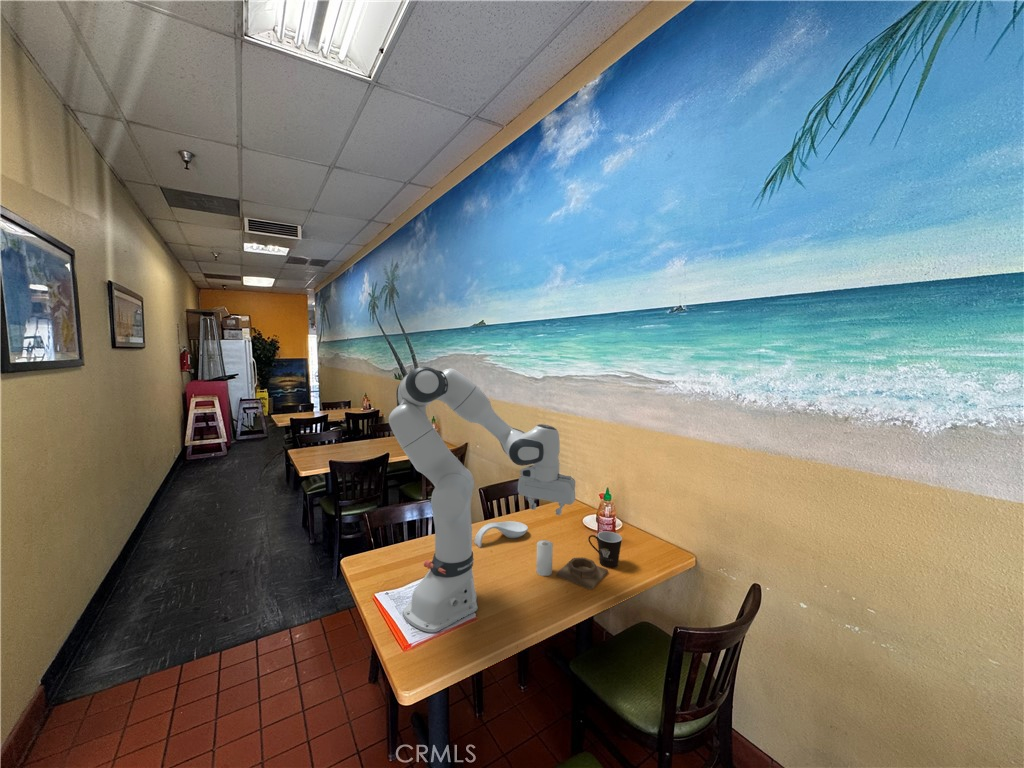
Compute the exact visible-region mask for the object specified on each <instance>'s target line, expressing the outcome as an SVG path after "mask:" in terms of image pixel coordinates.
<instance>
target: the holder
mask: <svg viewBox="0 0 1024 768" xmlns="http://www.w3.org/2000/svg"><path fill="white" fill-rule="evenodd" d="M608 571H609V569H608V568H605V567H603V566H602V567H601V566H598V565H597V564H596V562H595V561H594V560H593V559H589V558H586V557H583V556H581V557H572V558H571V559H570V560H569V561H568V562H567V564H565V565H563V567H562V568H560V569H559V570H558V571H557V572H556V575H555V576H556V577H558V578H561V579H563V580H565V581H567V582H570V583H573V584H576V585H578V586H581V587H583V588H586V589H587V590H590V591H593V589H594V588H595V587H596V586H597V585H598V584H599V583H600V581H602V579H603V578H604V577H605V576H606V575H607V574H608V573H609V572H608Z"/></svg>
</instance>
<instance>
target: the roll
mask: <svg viewBox="0 0 1024 768" xmlns="http://www.w3.org/2000/svg"><path fill="white" fill-rule="evenodd" d="M553 547H554V545H553V542H552V541H550V540H547V539H546V540H545V539H544V540H543V539H541V540H539V541H537V543H536V573H537V575H539V576H541V577H548V576H551V575H552V574H553V554H554V553H553V551H554V549H553Z"/></svg>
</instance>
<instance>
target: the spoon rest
mask: <svg viewBox="0 0 1024 768" xmlns="http://www.w3.org/2000/svg"><path fill="white" fill-rule="evenodd" d="M491 529H496V530H498V531H499V532H500V533H501V534H503V535H504V536H505V537H506V538H508V539H518V538H520V537H522V536H524V535H525V534H526V533H527V532H528V530H529V527H528V525H526V524H525V523H523V522H520V521H513V520H511V521H509V520H508V521H502V522H501V521H500V522H499V521H498V522H489V523H486V524H485V525H483V526H482V527H481V528H479V530H478V531H477V533H476V535H475V537H474V541H473V542H474V544H475V545H477V546H478V547H479V548H482V546H483V545H482V543H483V542H482V541H483V538H484V536H485V534H486V533H487V532H488V531H489V530H491Z"/></svg>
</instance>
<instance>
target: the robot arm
mask: <svg viewBox="0 0 1024 768" xmlns="http://www.w3.org/2000/svg"><path fill="white" fill-rule="evenodd" d="M435 400H436V401H437V400H438V401H440V402H443V403H444V404H446V405H447V406H448V407H449V409H451V410H452V411H453V412H454V413H456V414H457V415H458V416H459V417H461V418H462V419H464V420H465V421H467V422H469V423H471V424H472V423H473V424H477V425H480V426H482V427H483V428H485V429H486V430H487V431H488V432H489V433H490V434H492V436H493V437H495V438H496V439H497V440H498V441H499V444H500V446H501V448H502V450H503V452H504V453H505V454H506V456H508V458H509V459H510V461H512V463H514V464H515V465H518V466H525V467H523V468H521V469H520V471H519V475H520V477H519V478H518V481H517V482H518V483H517V492H518V494H519V495H520V496H524V497H527V501H528V503H529V505H530V506H529V508H530V510H532V511H533V510H536V509H537V503H535V502H534V499H538V500H543V501H549V502H555V503H558V506H559V507H557V508H556V509H555V515H557V516H561V515H562V509H563V508H564V507H565V505H569V506H570V505H572V504H574V503H575V501H576V490H575V489H576V480H575V478H574V477H572V476H571V475H565V474H560V460H559V455H560V451H561V447H560V446H561V445H560V433H559V431H558V429H557V428H555V427H553V426H551V425H548V424H542V423H541V424H537V425H535V427H533V428H532V429H530V430H529V431H526V432H524V431H522V430H521V429H519V428H518V429H517V428H514V427H512V426H510V425H509V424H508V423H507V422H506V421H505V420H504V419H502V418H501V417H500V416H499V415H498V414H497V413H496V411H495V410H494V409H493V407H492V404H491V401H490V400H489V398H488V396H487V395H486V394H485V393H484V392H483V391H482V389H481V388H480V387H479V386H478V385H477V384H476V383H474V382H473V381H472V380H471V379H470V378H468V377H467V376H466V375H465V374H463V373H462V372H460V371H458V370H457V369H455V368H451V367H450V368H446V369H443V370H437V369H435V368H433V367H430V366H420V367H416V368H413V369H412V370H411V371H409V373H407V374H406V375H405V376H404V377H403V378H402V379H401V382H400V383H399V384H398V385H397V388H396V407H394V408H393V410H391V412H390V413H389V415H388V425H389V427H390V429H391V431H392V433H393V435H394V437H395V440H396V441H397V442H398V445H399V447H400V448H401V449H402V451H403V452H404V454H405V455H406V457H407V458H408V459H409V461H410V463H411V464H412V465H413V467H414V468H415V470H416V471H417V472H418V473H421V474H423V475H424V476H425V477H426V478H427V479H428V480H429V481H430V482H431V484H432V485H433V486H434V488H433V491H432V493H431V500H430V501H431V502H430V505H431V506H430V507H431V510H432V517H433V524H434V534H435V535H434V548H435V550H434V553H433V557H432V560H431V561H430V560H429V559H426V560H424V562H423V567H425V568H427V569H428V570H429V571H428V572H427V573H426V574H425V575H424V577H423V578H422V580H421V581H420V582H419V584H418V585H417V586H416V587H415V589H414V590H413V592H412V596H411V602H409V603H408V604H407V606H405V607H404V608H403V609H402V616H403V617H404V619H405V621H406V622H407V623H409V624H410V625H412V627H415V628H417V629H418V630H420V631H422V632H423V631H424V632H427V633H437V632H439V631H442V630H443V629H444V628H446V627H449V626H450V625H452V624H454V623H456V622H458V621H459V620H461V618H462V619H464V618H465V617H467V616H469V615H471V614H473V613H475V612H476V611H478V603H477V599H478V597H477V592H476V588H475V580H474V574H473V573H474V572H473V567H474V560H475V559H474V552H473V549H472V548H473V527H472V525H473V524H472V515H471V514H472V513H471V508H472V507H471V503H472V497H473V492H474V489H475V480H474V476H473V474H472V472H471V471H470V469H468V468H467V467H465V465H464V464H463V463H462V462H461V461H460V460H459V458H458V457H457V456H455V455H454V454H453V452H452V450H450V449H449V447H448V446H447V444H446V443H445V442H444V439H443V438H442V437H441V436H440V434H439V432H438V431H437V429H436V428H435V427H434V425H433V424H432V422H431V421H430V420H429V418H428V415H427V411H426V408H427V406H429V405H430V404H431V403H432V402H434V401H435ZM468 614H469V615H468ZM463 617H464V618H463ZM457 620H458V621H457Z"/></svg>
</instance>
